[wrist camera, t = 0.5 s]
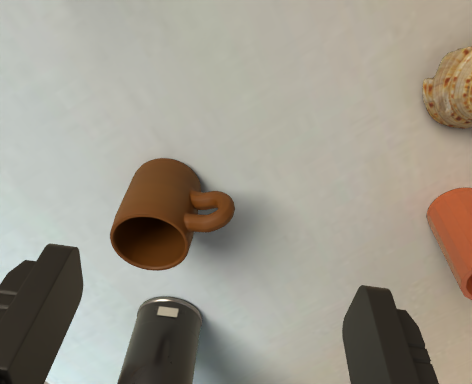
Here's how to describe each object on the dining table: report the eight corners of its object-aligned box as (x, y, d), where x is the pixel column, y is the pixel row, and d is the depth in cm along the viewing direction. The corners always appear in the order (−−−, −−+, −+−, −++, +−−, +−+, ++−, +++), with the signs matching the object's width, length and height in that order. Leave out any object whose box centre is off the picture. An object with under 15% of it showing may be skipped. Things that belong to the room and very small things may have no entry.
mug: (225, 135, 41) (216, 191, 33) (249, 192, 45) (246, 254, 38) (121, 165, 44) (92, 223, 36) (153, 217, 48) (132, 278, 40)
